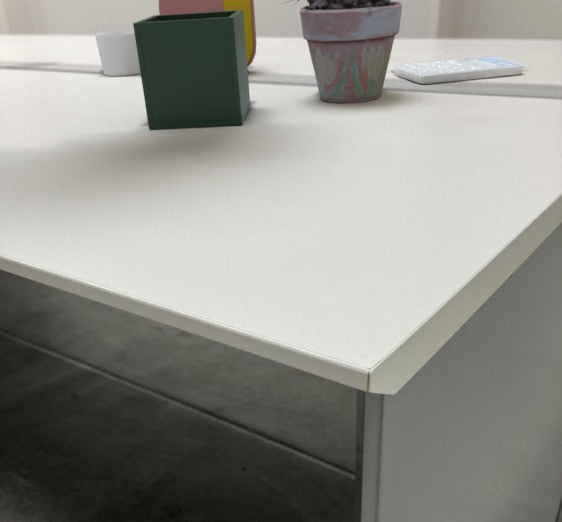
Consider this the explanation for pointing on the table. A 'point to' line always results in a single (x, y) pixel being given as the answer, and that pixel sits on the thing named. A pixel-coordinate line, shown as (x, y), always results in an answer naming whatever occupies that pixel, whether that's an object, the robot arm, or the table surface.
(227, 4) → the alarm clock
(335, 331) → the table surface
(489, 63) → the calculator
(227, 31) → the trash can
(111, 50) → the mug
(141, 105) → the table surface
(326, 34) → the potted plant
